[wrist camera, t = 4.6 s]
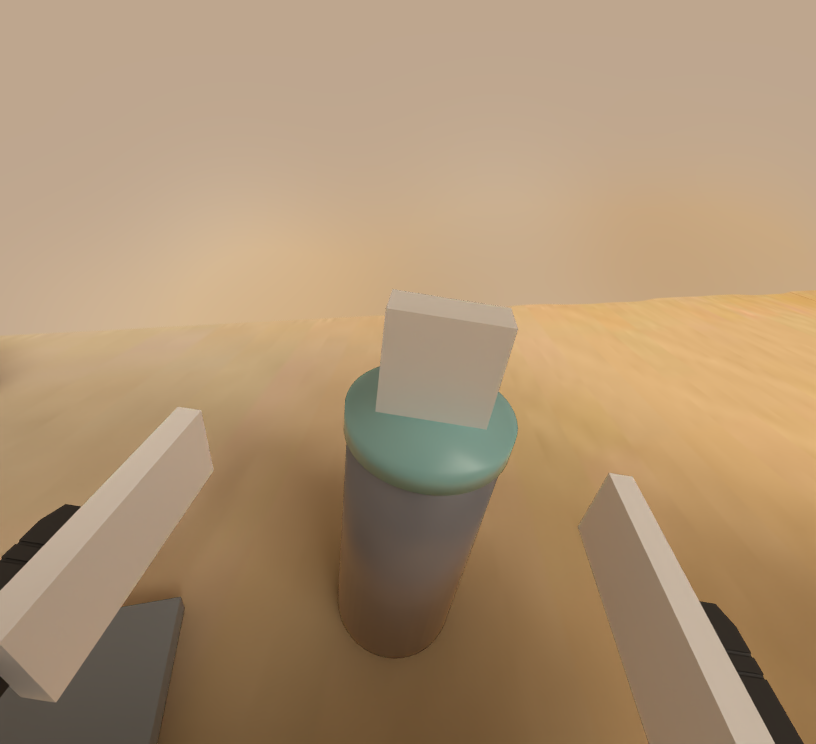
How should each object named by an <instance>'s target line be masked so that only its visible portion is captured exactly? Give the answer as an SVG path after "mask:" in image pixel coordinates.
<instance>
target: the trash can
mask: <svg viewBox="0 0 816 744" xmlns="http://www.w3.org/2000/svg"><path fill="white" fill-rule="evenodd" d="M517 330H518V327H517V324H516V321H515V318H514V315H513V312H512V309H511V308H508V307H502V306H496V305H489V304H483V303H476V302H470V301H464V300H457V299H451V298H444V297H438V296H432V295H426V294H419V293H413V292H406V291H400V290H394V289H393V290H392V293H391V296H390V298H389V301H388V304H387V307H386V313H385V322H384V332H383V342H382V351H381V361H380V367H377V368H374V369H372V370H370V371H368V372H366V373H365V374H363V375H362V376H360V377H359V378H358V379H357V380H356V381H355V382H354V383H353V384H352V386H351V387H350V389H349V391H348V393H347V396H346V399H345V415H344V435H345V440H346V443H347V445H346V463H345V481H344V499H343V517H342V535H341V553H340V571H339V589H338V607H339V612H340V616H341V619H342V622H343V624H344V626H345V628H346V630H347V631H348V633H349V634H350V636H351V637H352V638H353V639H354V640H355V641H356V642H357V643H358V644H359V645H360V646H361V647H363V648H364V649H366V650H367V651H369V652H371V653H373V654H376V655H378V656H382V657H387V658H403V657H407V656H411V655H414V654H416V653H418V652H420V651H422V650H424V649H425V648H426V647H428V646H429V645H430V644H431V643H432V642H433V641H434V640H435V639H436V637H437V636H438V635H439V633H440V631H441V629H442V628H443V626H444V623H445V620H446V617H447V615H448V612H449V609H450V606H451V604H452V601H453V598H454V596H455V593H456V590H457V587H458V585H459V582H460V579H461V576H462V574H463V571H464V568H465V565H466V563H467V560H468V557H469V554H470V552H471V549H472V546H473V544H474V541H475V538H476V535H477V533H478V530H479V527H480V524H481V522H482V519H483V516H484V513H485V511H486V508H487V505H488V502H489V500H490V497H491V494H492V492H493V489H494V486H495V483H496V481H497V478H498V476H499V475H500V473H501V472H502V471H503V470H504V468H505V466H506V464H507V462H508V459H509V456H510V454H511V451H512V448H513V446H514V443H515V440H516V437H517V431H518V426H517V419H516V416H515V413H514V411H513V409H512V407H511V406H510V404H509V403H508V401H507V400H506V399H505V398H504V397H503V396H502V394H501V393H499V392H498V391H499V388H500V385H501V382H502V378H503V375H504V372H505V369H506V366H507V362H508V359H509V356H510V353H511V350H512V346H513V343H514V340H515V337H516V334H517Z"/></svg>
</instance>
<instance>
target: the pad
mask: <svg viewBox="0 0 816 744" xmlns="http://www.w3.org/2000/svg"><path fill="white" fill-rule="evenodd" d="M184 608H185V607H184V605H183V602H182V599H181V597H177V598H171V599H165V600H160V601H154V602H148V603H142V604H136V605H131V606H125V607H121V608H120V609H119V611H118V612H117V614H116V615H115V617H114V618H113V620H112V621H111V623H110V624H109V626H108V627H107V628H106V630H105V631H104V633H103V634H102V636H101V637H100V639H99V640H98V642H97V643H96V645H95V646H94V648H93V649H92V651H91V652H90V653H89V655H88V656H87V658H86V659H85V661H84V662H83V664H82V665H81V667H80V668H79V670H78V671H77V673H76V674H75V676H74V677H73V679H72V680H71V681H70V683H69V684H68V686H67V687H66V689H65V690H64V692H63V693H62V695H61V696H60V698H59V699H58V701H57V702H56V703H55V702H49V701H42V700H36V699H29V698H23V697H20V696H19V695H18V694H17V693H16V692H15V691H14V690H13V689H11V688H10V687H8V688H7V690H6V691H5V692H4V693H3V695H2V696H1V697H0V744H157V743H158V738H159V733H160V728H161V723H162V718H163V713H164V708H165V703H166V698H167V693H168V688H169V683H170V678H171V673H172V668H173V663H174V658H175V653H176V648H177V643H178V638H179V633H180V628H181V623H182V618H183V613H184Z"/></svg>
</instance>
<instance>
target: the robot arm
mask: <svg viewBox="0 0 816 744" xmlns="http://www.w3.org/2000/svg"><path fill="white" fill-rule="evenodd" d="M213 471H214V469H213V465H212V460H211V455H210V450H209V445H208V440H207V435H206V430H205V425H204V421H203V416H202V411H201V410H197V409H190V408H184V407H177V408H176V409H175V410H174V411H173V412H172V413H171V414H170V415H169V416H168V417H167V418H166V419H165V420H164V421H163V422H162V423H161V424H160V425H159V427H158V428H157V429H156V430H155V431H154V432H153V433H152V434H151V435H150V436H149V437H148V438H147V439H146V440H145V441H144V442H143V443H142V444H141V445H140V446H139V447H138V448H137V449H136V450H135V451H134V452H133V454H132V455H131V456H130V457H129V458H128V459H127V460H126V461H125V462H124V463H123V464H122V465H121V466H120V467H119V468H118V469H117V470H116V471H115V472H114V473H113V474H112V475H111V476H110V477H109V478H108V479H107V480H106V482H105V483H104V484H103V485H102V486H101V487H100V488H99V489H98V490H97V491H96V492H95V493H94V494H93V495H92V496H91V497H90V498H89V499H88V500H87V501H86V502H85V503H84V504H83V505H82V506H81V507H80V506H74V505H67V504H65V505H64V506H62V507H60V508H59V509H57V510H55V511H54V512H52V513H51V514H49V515H47V516H46V517H44V518H43V519H41V520H40V521H39V522H37V523H36V524H35V525H34V526H33V527H32V528H31V529H30V530H29V531H28V532H27V533H26V534H25V535H24V536H23V537H22V538H21V539H20V540H19V543H18V544H15V545H14V546H13V547H12V548H11V549H9V550H8V551H7V552H6V553H5V554H4V555H3V556H2V559H1V560H0V697H1V696H2V695H3V693H4V692H5V691H6V690H7V688H8V687H10V688H11V689H13V690H14V691H15V692H16V693H17V694H18V695H19V696H20V697H23V698H29V699H36V700H42V701H49V702H55V703H56V702H57V701H58V699H59V698H60V696H61V695H62V693H63V692H64V690H65V689H66V687H67V686H68V684H69V683H70V681H71V680H72V679H73V677H74V676H75V674H76V673H77V671H78V670H79V668H80V667H81V665H82V664H83V662H84V661H85V659H86V658H87V656H88V655H89V653H90V652H91V651H92V649H93V648H94V646H95V645H96V643H97V642H98V640H99V639H100V637H101V636H102V634H103V633H104V631H105V630H106V628H107V627H108V626H109V624H110V623H111V621H112V620H113V618H114V617H115V615H116V614H117V612H118V611H119V609H120V608H121V606H122V605H123V603H124V602H125V600H126V599H127V598H128V596H129V595H130V593H131V592H132V590H133V589H134V587H135V586H136V584H137V583H138V581H139V580H140V578H141V577H142V575H143V574H144V573H145V571H146V570H147V568H148V567H149V565H150V564H151V562H152V561H153V559H154V558H155V556H156V555H157V553H158V552H159V550H160V549H161V547H162V546H163V545H164V543H165V542H166V540H167V539H168V537H169V536H170V534H171V533H172V531H173V530H174V528H175V527H176V525H177V524H178V522H179V521H180V519H181V518H182V517H183V515H184V514H185V512H186V511H187V509H188V508H189V506H190V505H191V503H192V502H193V500H194V499H195V497H196V496H197V494H198V493H199V492H200V490H201V489H202V487H203V486H204V484H205V483H206V481H207V480H208V478H209V477H210V475H211V474H212V472H213ZM578 529H579V532H580V535H581V538H582V541H583V545H584V548H585V551H586V554H587V557H588V560H589V563H590V566H591V569H592V572H593V575H594V578H595V581H596V584H597V587H598V590H599V593H600V596H601V599H602V602H603V606H604V609H605V612H606V615H607V618H608V621H609V624H610V627H611V630H612V633H613V636H614V639H615V642H616V645H617V648H618V651H619V654H620V657H621V660H622V663H623V667H624V670H625V673H626V676H627V679H628V682H629V685H630V688H631V691H632V694H633V697H634V700H635V703H636V706H637V709H638V712H639V715H640V718H641V721H642V725H643V728H644V731H645V734H646V737H647V740H648V743H649V744H804V743H803V742H802V740H801V738H800V737H799V735H798V733H797V731H796V730H795V728H794V726H793V724H792V723H791V721H790V719H789V718H788V716H787V714H786V712H785V711H784V709H783V707H782V705H781V704H780V702H779V700H778V699H777V697H776V695H775V693H774V692H773V690H772V688H771V686H770V685H769V683H768V681H767V680H765V679H764V678H763V673H762V671H761V669H760V667H759V666H758V664H757V662H756V661H755V659H754V658H752V657H751V652H750V650H749V648H748V647H747V645H746V643H745V642H744V640H743V638H742V636H741V635H740V633H739V631H738V629H737V628H736V626H735V625H734V624H733V623H732V622H731V621H730V620H729V619H728V617H727V616H726V615H725V614H724V613H723V612H722V611H721V610H720V608H719V607H718V606H717V605H716V604H713V603H707V602H700V601H699V600H698V598H697V596H696V594H695V592H694V590H693V589H692V587H691V585H690V583H689V581H688V579H687V577H686V575H685V574H684V572H683V570H682V568H681V566H680V564H679V562H678V560H677V559H676V557H675V555H674V553H673V551H672V549H671V547H670V545H669V544H668V542H667V540H666V538H665V536H664V534H663V532H662V530H661V529H660V527H659V525H658V523H657V521H656V519H655V517H654V515H653V514H652V512H651V510H650V508H649V506H648V504H647V502H646V500H645V499H644V497H643V495H642V493H641V491H640V489H639V487H638V485H637V484H636V482H635V480H634V478H633V477H632V476H626V475H619V474H613V473H609V474H608V475H607V477H606V479H605V481H604V482H603V484H602V486H601V487H600V489H599V491H598V493H597V494H596V496H595V498H594V500H593V501H592V503H591V505H590V506H589V508H588V510H587V512H586V513H585V515H584V517H583V518H582V520H581V522H580V524H579V525H578Z"/></svg>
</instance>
